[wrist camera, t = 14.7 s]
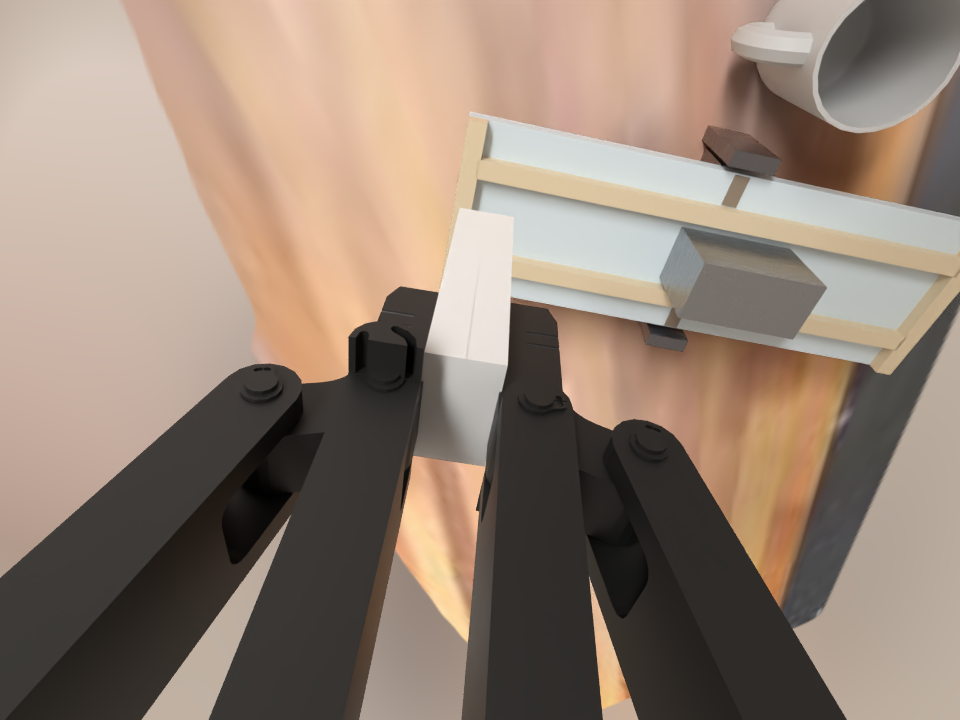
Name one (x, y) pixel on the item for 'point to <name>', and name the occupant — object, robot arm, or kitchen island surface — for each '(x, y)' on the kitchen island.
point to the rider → (739, 283)
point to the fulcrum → (730, 153)
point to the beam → (712, 208)
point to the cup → (855, 57)
